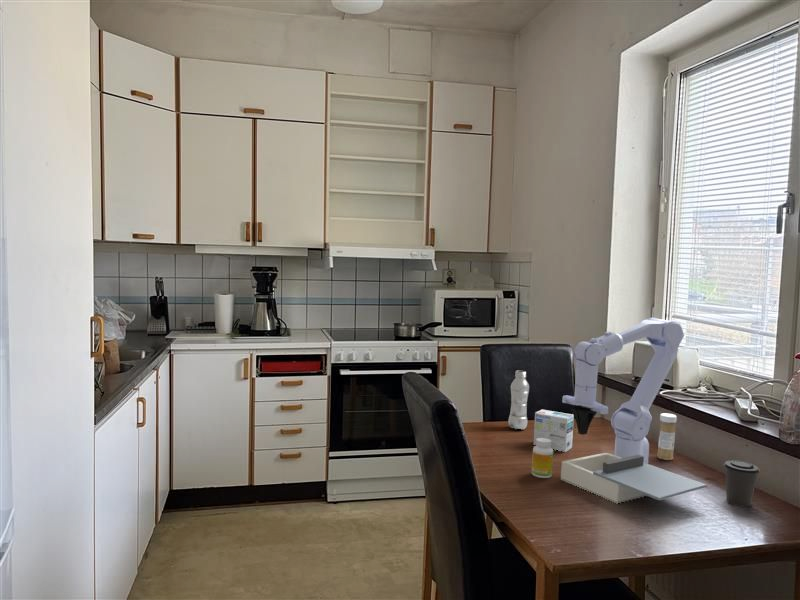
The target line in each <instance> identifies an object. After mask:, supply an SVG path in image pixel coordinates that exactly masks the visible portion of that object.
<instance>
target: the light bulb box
mask: <svg viewBox="0 0 800 600" xmlns="http://www.w3.org/2000/svg"><path fill="white" fill-rule="evenodd" d="M574 419H575V417H574V415H573V413H572V414H571V413H564V412H561V411H560V412H558V411H554V410H553V411H552V410H547V409H543V408H542V409H540V410H538V411H535V412H534V422H533V423H534V425H533V427H534V429H533V445H536V439H537V438H546V439H550V440H551V446H550V448H552V449H554V450H553V451H556V450H558V451H557V452H561V451H562V452H561V453H567V452H568V451H569V450H571V449H572V448H573V436H574V434H573V433H574V421H575V420H574ZM533 445H532V446H533ZM536 446H537V445H536Z"/></svg>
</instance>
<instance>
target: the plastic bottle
mask: <svg viewBox="0 0 800 600" xmlns="http://www.w3.org/2000/svg"><path fill="white" fill-rule="evenodd" d="M514 377H515V378H514V379H513V381H512V382H511V383H510V384H511V385H510V394H511V396H510V401H511V403H510V410H509V411H510V413H509V416H508V426H509V428H511V429H513V428H514V429H513V430H517V429H521V430H525V429H526V428H527V427H528V417H527V416H528V415H527V410H528V409H527V408H528V407H527V406H528V403H527V402H528V397H529V393H530V384H529V382H528V381H527V379H526V378H527V371H525V370H516V371H515V375H514Z"/></svg>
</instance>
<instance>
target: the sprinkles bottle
mask: <svg viewBox="0 0 800 600" xmlns="http://www.w3.org/2000/svg"><path fill="white" fill-rule="evenodd" d="M659 415H660V416H659V420H660V421H659V433H658V434H659V435H658V444H657V446H658V447H657V448H658V449H657V458H658V459H660V460H664V461H672V460H674V449H675V438H676V424H677V417H678V416H677V415H676V414H673V413H667V412H665V413H664V412H663V413H660V414H659Z"/></svg>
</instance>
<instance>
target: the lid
mask: <svg viewBox="0 0 800 600" xmlns="http://www.w3.org/2000/svg"><path fill="white" fill-rule="evenodd" d="M593 474H594V475H597V476H599V477H602V478H604V479H607V480H609V481H612V482H614V483H617V484H619V485H622V486H624V487H627V488H629V489H632V490H634V491H637V492H639V493H642V494H644V495H647V496H646V497H649V498H652V499H654V500H657V501H662V500H665V499H669V498H673V497H677V496H680V495H683V494H687V493H690V492H694V491H697V490H700V489H704V488H705V489H706V488H707V486H708V484H706V483H703V482H700V481H697V480H694V479H693V478H692V479H691V478H689V477H686V476H683V475H680V474H677V473H675V472H672V471H669V470H666V469H663V468H661V467H657V466H655V465H652V464H649V463H648V464H646V463H644V456H641V455H635V456H630V457H626V458H621V459H616V460H611V461H607V462H603V470H599V471H594V472H593Z"/></svg>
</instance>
